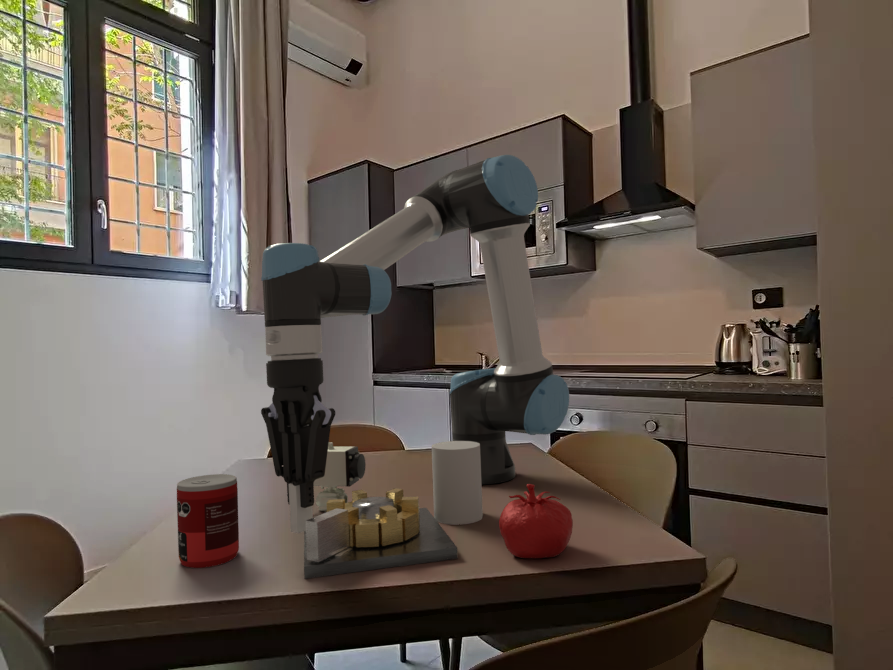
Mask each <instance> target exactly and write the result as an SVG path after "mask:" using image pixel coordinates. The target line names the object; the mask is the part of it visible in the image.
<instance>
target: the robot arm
mask: <svg viewBox="0 0 893 670" xmlns="http://www.w3.org/2000/svg"><path fill="white" fill-rule="evenodd" d="M538 190H539V189H538V185H537V181H536V179H535V176H534V175H533V172H532V170H531V169H530V168H529V166H527V165H526V164H525V162H524V161H523V160H522V159H520V158H519V157H517V156H515V155H512V154H502V155H497V156H493V157H487V158H486V159H484V160H482V161H479V162H476V163H473V164H470V165H468V166H465V167H462V168H459V169H455V170H452V171H450V172H448V173H446V174H444V175H442V176H441V177H440V178H438V179H436V180H435V181H434V182H432V183H431V184H429V185H428V186H426V187H425V188H423V189H422V190H421V191H419V192H418V193H416V194H414V195H413V196H411V197H410V198H409V199H408V200H407V201H406V202H405V203H404V206H403V209H400V210H399V211H397V212H396V213H395V214H393V215H392V216H390V217H388V218H386V219H385V220H383V221H381V222H380V223H378V224H377V225H375V226H374V227H373V228H371V229H369V230H367V231H366V232H364V233H362V235H360V236H358V237H357V238H355V239H353V240H352V241H350V242H348V243H347V244H345V245H343V246H342V247H340V248H339V249H337V250H335V251H334V252H333V253H331V254H329V255H328V256H326V257H324V258H323V259H321V260H320V256H319V251H318V249H317V248H316V247H315V246H314V245H311V244H308V243H299V242H285V243H284V242H283V243H282V242H281V243H276V244H271V245H268V246H267V247H266V248H265V249H264V250H263V252H262V261H261V278H260V279H261V280H260V281H262V295H263V316H264V328H265V329H264V330H265V331H264V332H265V333H264V334H265V355H266V356H267V357H270V360H267V363H266V364H265V368H266V371H265V372H266V384H267V387H269V388H271V389H273V394H272V399H271V401H272V403H271V404H270V405H269V406H268V407H267V406H266V407H262V408H261V409H260V413H261V415H262V416H261V417H262V418H263V420H264V423H265V426H266V430H267V436H268V441H269V447H270V453H271V456H272V457H271V458H272V462H273V469H274V473H275V475H276V477H278V478H279V477H282V478H283V480H284V482H285V483H286V491H287V492H286V493H287V494H286V495H287V503H288V506H289V524H290V528H289V529H290V533H293V534H301V533H304V531H306V520H308V519H311V518H314V513H313V512H314V509H313V507H314V505H315V491H314V489H315V486H314V481H315V480H316V479H319V478H322V477H324V475H325V468H326V460H327V452H328V444H329V442H330V435H331V427H332V424H333V421H334V419H335V416H336V410H335V409H334V408H333V407H331V408H327V407H326V406H325V405H324V404H323V403H322V401H323V400H322V396H321V393H320V391H319V388H320V385H322V384H323V383H324V381H325V380H324V379H325V378H324V365H323V364H324V363H323V361H324V360H322V358H321V357H319V355H320V354H322V353H323V338H322V333H323V332H322V319H323V318H324V319H325V318H334V317H343V316H353V315H354V316H355V315H362V316H368V315H379V314H381V313H383V312H384V311H385V310H386V309H387V308H388V306H389V304H390V302H391V298H392V282H391V278H390V276H389V274H388V273H387V272H386V271H385V270H386V269H388V268H389V267H390V266H392V265H394V264H395V263H396V262H398V261H399V260H401V259H402V258H404V257H405V256H406V255H408V254H409V253H410V252H412V251H413V250H415V249H416V248H417V247H419V246H421V245H422V244H424V243H425V242H426V243H427V242H428V243H431V242H434V241H437V240H438V239H439V238H441V237H442V236H445V235H447V234H450V233H453V232H457V231H459V230H464V229H468V228H469V234H470V237H472V238H473V239H474V240H476V242H478V244H479V246H480V251H481V259H482V264H483V271H484V275H485V283H486V289H487V294H488V300H489V305H490V311H491V312H490V313H491V318H492V324H493V331H494V335H495V336H494V337H495V341H496V347H497V352H498V353H497V354H498V359H499V363H498V364H497V366H496V367H493V368H483V369H475V370H469V371H464V372H457V373H455V374H454V375H452V376H451V379H450V387H449V388H450V391H449V401H450V417H451V421H450V422H451V439H452V440H451V441H471V442H477V443H479V444H480V458H481V485H492V484H493V485H494V484H499V483H504V482H505V483H506V482H508V481H511V480H513V479H515V477H516V465H515V462H514V459H513V457H512V454H511V451H510V448H509V445H508V443H507V438H506V437H507V436H506V432H509V433H511V432H512V433H519V434H527V435H530V436H535V435H545V436H546V435H551V434H553V433H554V432H556V431H557V430H558V429H559V428H560V427H561V425H562V424H563V423H564V421H565V418H566V417H567V414H568V410H569V407H570V406H569V405H570V390H569V386H568V384H567V381H565V379H564V378H563V377H561V376H560V375H558V374H554V369H553V364H552V361H550V360H549V359H548V358H546V357H545V356H544V355H543V349H542V343H541V337H540V330H539V325H538V318H537V311H536V305H535V300H534V299H535V298H534V292H533V286H532V280H531V273H530V269H529V268H530V267H529V260H528V255H527V249H526V242H525V237H524V236H525V233H526V232H527V230H528V228H529V227H530V226H531V223H530V216H529V215H530V214H531V213H532V212H534V211H535V209H536V208H537V206H538V203H537V202H538V201H539V191H538Z"/></svg>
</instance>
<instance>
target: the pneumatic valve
mask: <svg viewBox="0 0 893 670" xmlns="http://www.w3.org/2000/svg"><path fill="white" fill-rule="evenodd" d="M366 465H367V464H366V457H365V455H364V454H363V453H360V451H359V447H358V446H334V443H333V442H330V441H329V444H328V452H327V460H326V468H325V475H324V477H322V478H319V479H316V480H315V481H314V487H320V489H322V490H323V491H320V492H318V493H317V495H316V498H315V504H316V506H317V507H318V508H317V509H318V511H320V512H327V501H328V500H334V499H345V503H348V502H349V501H348V499H349V498H348V494H347V493H346V492H345V491H346V490H345V489H344V488H343V487H345V488H346V487H351V486H353V485H354V484H356V483H357V482H358V481H360V479H363V477H364V476H365V473H366ZM338 487H342V488H338Z"/></svg>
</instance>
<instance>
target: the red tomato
mask: <svg viewBox="0 0 893 670" xmlns="http://www.w3.org/2000/svg"><path fill="white" fill-rule="evenodd" d="M535 487H536V486H535V484H532V483H527V484H526V488H527V490H528V491H526V490H525V491H523V494H524V495H525V497H526V498H525V497H524V496H523V495H522V494H514V495H508V497H509V498H510V499H513V500H511V501H510V502H508V503H507V504H506V505H505V507H504V508H503V509H502V511H501V514H500V516H499V520H498V527H499V531H500V535H501V536H502V538H503V540H504V543H505V546H506V547H505V548H506V549H507V550H508V552H510V554H512V555H513V556H514V557H517V558H521V559H533V560H534V559H535V560H536V559H544V558H553V557H557V556H558V555H560V554H561V553H563V552H564V551H565V550H566V548H567V547H568V546H567V545H568V544H569V542H570V541H571V537H572V533H573V524H574V523H573V522H574V521H573V516H572V515H573V514H572V511H571V510H570V509H569V508H568V507H567V506H565V505H564V504H562V503H561V502H560V501H561V500H562V499H561V498H559V497H557V496H555V495H548V496H546V497H543V495H544V494H546V493H547V494H549V493H551V492H550V491H542V492H540V493H538V495H536V491H535ZM555 499H557V500H555ZM558 500H560V501H558Z"/></svg>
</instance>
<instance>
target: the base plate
mask: <svg viewBox="0 0 893 670" xmlns="http://www.w3.org/2000/svg"><path fill="white" fill-rule="evenodd" d="M388 505H391V506H392V507H394V502H393V499H391V498H387V497H386V496H369V497H368V496H367V498H363V499H359V500H356V501H354V502H353V507H356V508H359V519H360V520H364V519H380V511H379V507H383V506H388ZM419 513H420V529H419V533H418V534H417V535H415V536H413V537H411V538H409V539H408V540H406V541H405V540H403V542H398V543H394V544H390V545H385V546H382V545H379V547H356V546H354V547H348V548H346V549H344V550H342V551H340V552H338V553H336V554H334V555H332V556H330V557H328V558H326V559H324V560H322V561H320V562H315V561H311V560H307V550H306V531H303V535H304V536H303V539H304V540H303V541H304V542H303V576H304V579H312V578H319V577H320V578H321V577H329V576H335V575H342V574H343V575H344V574H350V573H357V572H358V573H359V572H365V571H372V570H373V571H374V570H375V571H376V570H381V569H389V568H397V567H403V566H412V565H418V564H419V565H420V564H426V563H432V562H433V563H435V562H443V561H450V560H457V559H458V558H459V557H458V547H457V545H456V544H455V542H453V540H452V539H451V537H450V536H449V535H448V533H447V532H446V531H445V530H444V528H443V526H442V525H440V522H437V521H436V519H435V518H434V515H433V514H432V513H431V511H430V510H429V509H428V508H427V507H419Z"/></svg>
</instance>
